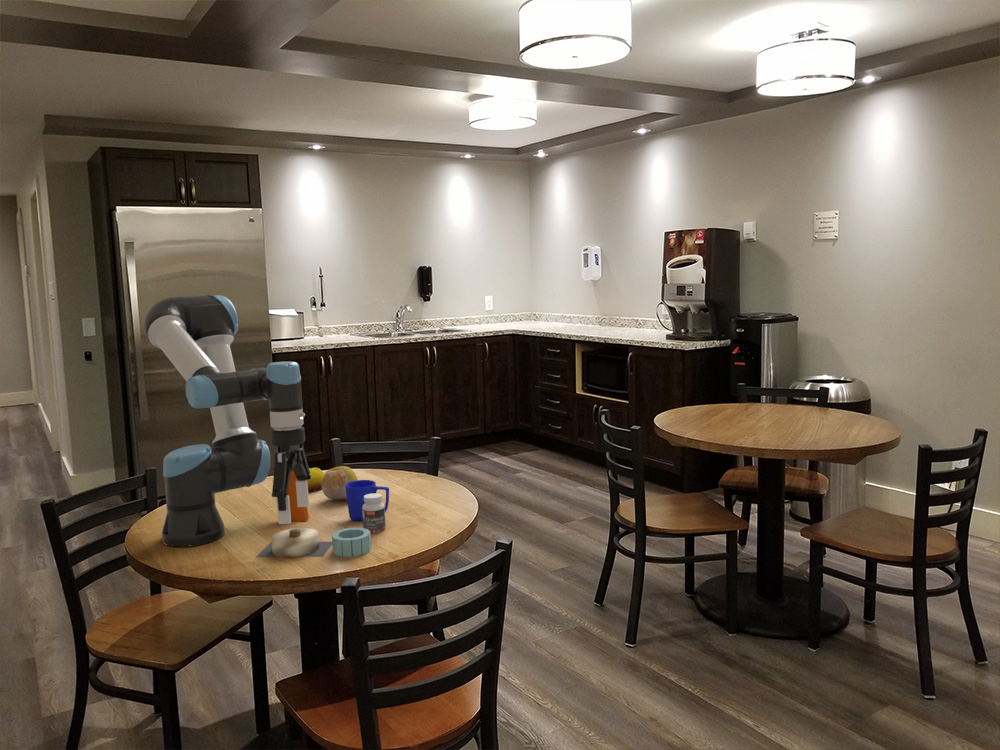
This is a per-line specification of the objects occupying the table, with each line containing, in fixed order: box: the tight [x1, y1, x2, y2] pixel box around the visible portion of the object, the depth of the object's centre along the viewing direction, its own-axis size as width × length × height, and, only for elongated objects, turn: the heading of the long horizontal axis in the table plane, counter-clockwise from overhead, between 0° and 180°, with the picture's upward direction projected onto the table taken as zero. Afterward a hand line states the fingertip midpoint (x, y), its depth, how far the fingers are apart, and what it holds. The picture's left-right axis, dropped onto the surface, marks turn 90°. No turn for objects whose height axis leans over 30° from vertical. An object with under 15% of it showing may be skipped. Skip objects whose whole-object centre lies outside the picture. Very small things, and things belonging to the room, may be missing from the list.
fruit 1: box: [307, 467, 325, 494], centre depth 246 cm, size 11×10×8 cm
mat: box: [255, 541, 332, 558], centre depth 189 cm, size 16×10×1 cm, turn 86°
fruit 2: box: [321, 465, 358, 501], centre depth 232 cm, size 10×11×10 cm
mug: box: [345, 479, 390, 523], centre depth 212 cm, size 8×12×10 cm
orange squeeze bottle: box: [287, 470, 310, 523], centre depth 214 cm, size 7×11×26 cm, turn 14°
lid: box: [270, 527, 320, 558], centre depth 188 cm, size 11×11×5 cm
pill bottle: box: [362, 492, 387, 534], centre depth 201 cm, size 6×6×10 cm
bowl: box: [331, 527, 372, 558], centre depth 187 cm, size 9×9×5 cm
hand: (294, 514), depth 187 cm, fingers open, 13 cm apart
